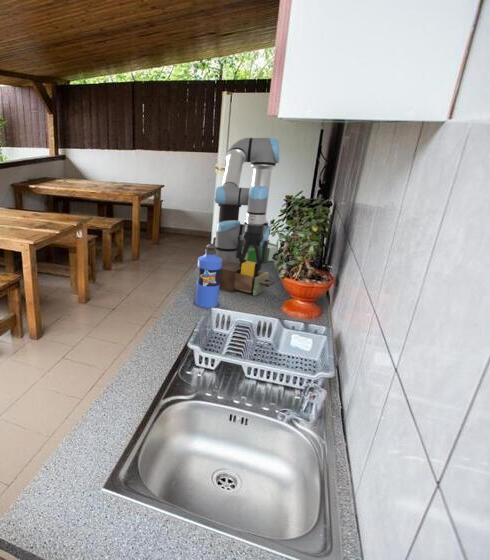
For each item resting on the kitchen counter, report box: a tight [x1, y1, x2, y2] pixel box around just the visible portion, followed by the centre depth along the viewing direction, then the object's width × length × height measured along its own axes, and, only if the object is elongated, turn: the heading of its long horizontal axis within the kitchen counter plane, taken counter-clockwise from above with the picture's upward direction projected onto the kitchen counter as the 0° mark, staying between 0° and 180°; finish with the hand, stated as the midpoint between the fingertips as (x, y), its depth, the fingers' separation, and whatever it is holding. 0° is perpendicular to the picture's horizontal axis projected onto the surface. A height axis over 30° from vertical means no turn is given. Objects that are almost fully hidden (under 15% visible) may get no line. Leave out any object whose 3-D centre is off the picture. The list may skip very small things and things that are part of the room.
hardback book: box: [241, 242, 278, 263], centre depth 237 cm, size 18×7×24 cm
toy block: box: [241, 261, 255, 279], centre depth 186 cm, size 6×6×6 cm
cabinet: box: [219, 260, 241, 293], centre depth 194 cm, size 15×13×10 cm
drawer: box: [234, 270, 276, 297], centre depth 186 cm, size 18×11×8 cm, turn 49°
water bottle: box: [194, 243, 222, 309], centre depth 170 cm, size 9×9×25 cm
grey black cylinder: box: [212, 203, 242, 245], centre depth 263 cm, size 16×16×30 cm
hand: (249, 275), depth 186 cm, fingers closed on toy block, 5 cm apart
